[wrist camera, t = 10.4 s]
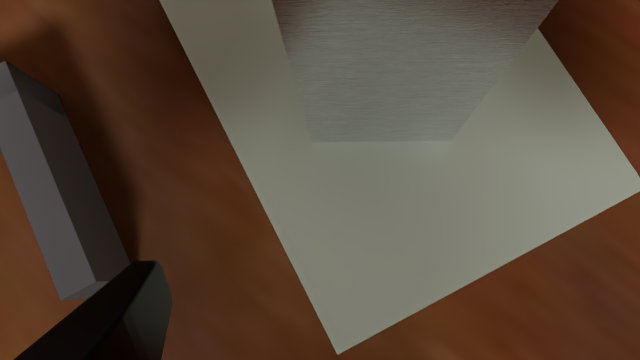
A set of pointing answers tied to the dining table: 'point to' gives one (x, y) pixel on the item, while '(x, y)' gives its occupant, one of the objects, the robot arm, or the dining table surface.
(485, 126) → the off-white mat
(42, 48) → the dining table surface
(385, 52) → the steel post
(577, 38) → the dining table surface
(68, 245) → the c collar
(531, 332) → the dining table surface
